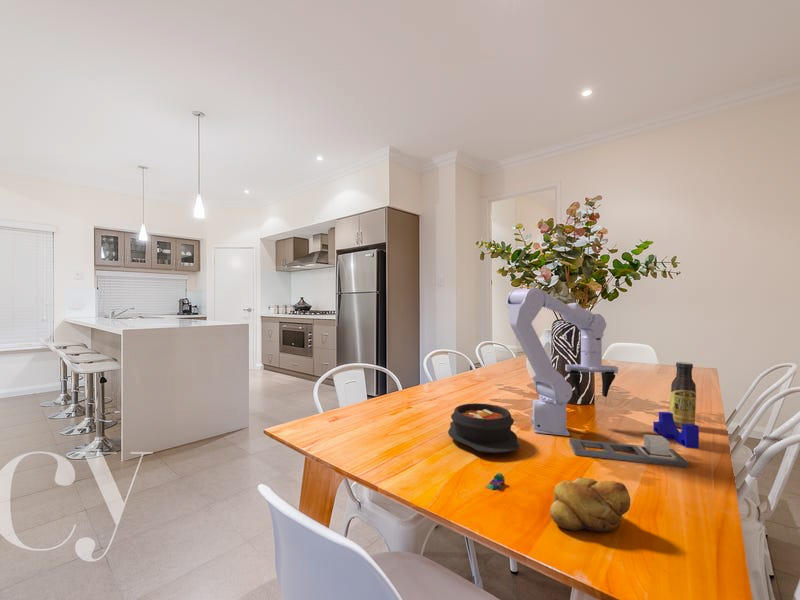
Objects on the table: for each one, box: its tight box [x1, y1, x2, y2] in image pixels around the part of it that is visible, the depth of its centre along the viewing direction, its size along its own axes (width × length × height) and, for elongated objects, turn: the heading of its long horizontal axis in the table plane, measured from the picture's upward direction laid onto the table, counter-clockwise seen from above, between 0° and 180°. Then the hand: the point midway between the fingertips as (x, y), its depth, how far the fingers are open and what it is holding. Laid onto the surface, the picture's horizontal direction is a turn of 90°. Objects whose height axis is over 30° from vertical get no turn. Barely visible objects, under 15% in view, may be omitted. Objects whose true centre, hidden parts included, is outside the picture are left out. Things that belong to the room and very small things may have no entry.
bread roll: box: [549, 476, 632, 533], centre depth 63 cm, size 13×10×8 cm
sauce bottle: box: [669, 361, 697, 429], centre depth 110 cm, size 6×6×20 cm
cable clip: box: [652, 411, 700, 449], centre depth 100 cm, size 12×4×6 cm, turn 174°
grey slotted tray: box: [568, 438, 689, 469], centre depth 90 cm, size 24×8×2 cm, turn 74°
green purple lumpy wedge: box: [484, 472, 506, 491], centre depth 74 cm, size 4×3×2 cm, turn 143°
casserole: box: [447, 403, 520, 454], centre depth 99 cm, size 25×19×8 cm
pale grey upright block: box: [643, 433, 670, 457], centre depth 88 cm, size 4×4×5 cm
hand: (591, 395), depth 111 cm, fingers open, 7 cm apart
